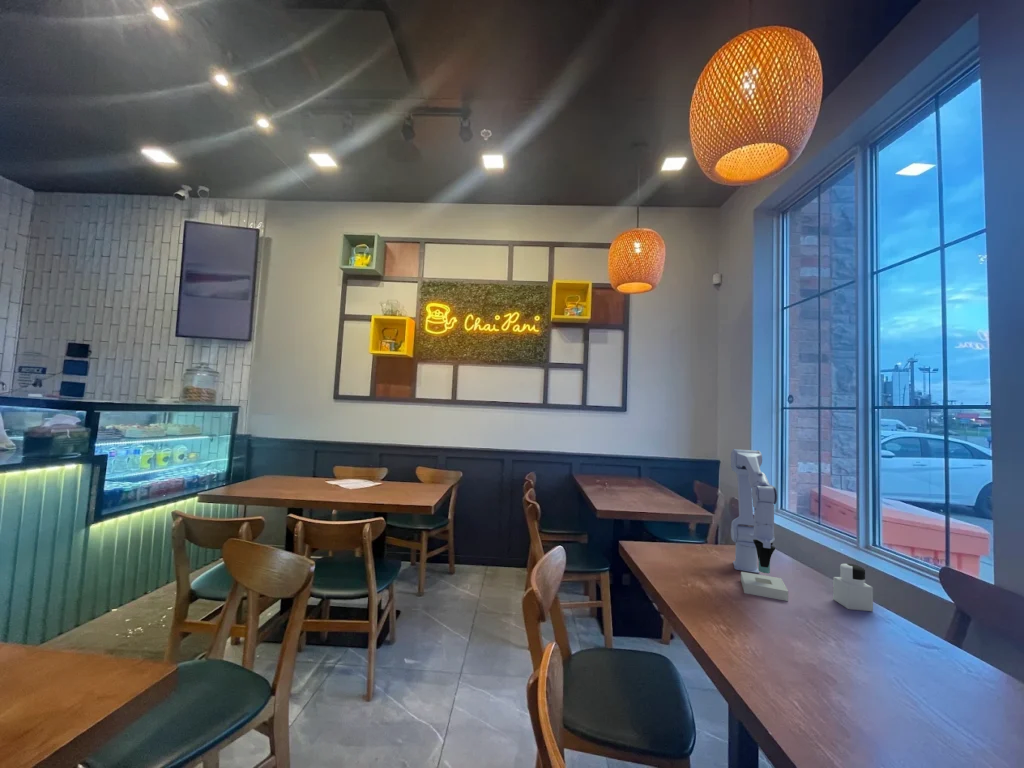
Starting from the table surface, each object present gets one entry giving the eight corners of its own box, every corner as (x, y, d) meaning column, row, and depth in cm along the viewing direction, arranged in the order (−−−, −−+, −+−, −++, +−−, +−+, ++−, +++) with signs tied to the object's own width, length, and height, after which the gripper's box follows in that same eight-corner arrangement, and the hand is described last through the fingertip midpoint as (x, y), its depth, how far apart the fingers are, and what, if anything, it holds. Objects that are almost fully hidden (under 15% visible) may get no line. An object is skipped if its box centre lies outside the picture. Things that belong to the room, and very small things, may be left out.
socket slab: (740, 580, 149) (740, 571, 149) (781, 587, 144) (781, 578, 144) (744, 593, 138) (744, 583, 138) (788, 601, 133) (788, 591, 133)
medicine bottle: (856, 601, 135) (856, 562, 136) (873, 611, 128) (873, 570, 129) (832, 599, 136) (832, 560, 137) (847, 609, 129) (847, 568, 130)
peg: (758, 568, 143) (759, 547, 144) (769, 571, 142) (770, 549, 142) (758, 571, 141) (758, 549, 141) (769, 574, 139) (770, 551, 139)
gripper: (747, 516, 150) (747, 556, 150) (752, 525, 137) (752, 569, 136) (771, 519, 148) (770, 560, 147) (778, 529, 134) (778, 573, 133)
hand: (763, 565), depth 141 cm, fingers closed on peg, 3 cm apart
